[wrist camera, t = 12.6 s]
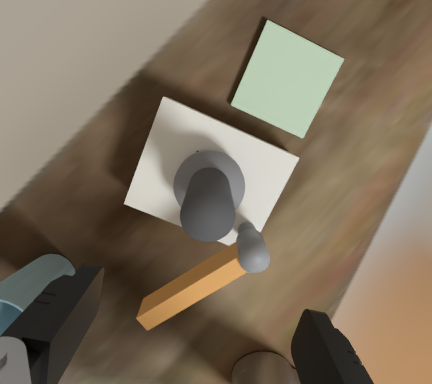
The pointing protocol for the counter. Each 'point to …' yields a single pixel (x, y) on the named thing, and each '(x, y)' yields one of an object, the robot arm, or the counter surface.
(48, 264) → the cup
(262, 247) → the tan piece
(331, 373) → the robot arm
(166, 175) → the socket block
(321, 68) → the pad
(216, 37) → the counter surface
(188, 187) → the plug
